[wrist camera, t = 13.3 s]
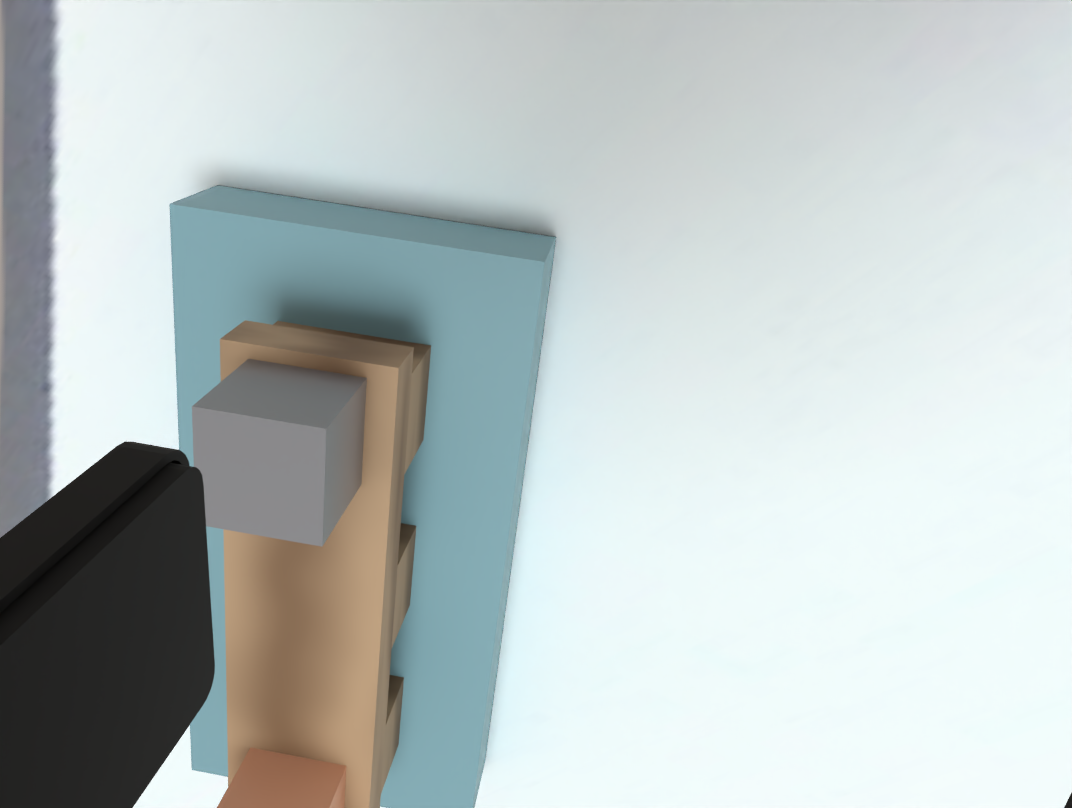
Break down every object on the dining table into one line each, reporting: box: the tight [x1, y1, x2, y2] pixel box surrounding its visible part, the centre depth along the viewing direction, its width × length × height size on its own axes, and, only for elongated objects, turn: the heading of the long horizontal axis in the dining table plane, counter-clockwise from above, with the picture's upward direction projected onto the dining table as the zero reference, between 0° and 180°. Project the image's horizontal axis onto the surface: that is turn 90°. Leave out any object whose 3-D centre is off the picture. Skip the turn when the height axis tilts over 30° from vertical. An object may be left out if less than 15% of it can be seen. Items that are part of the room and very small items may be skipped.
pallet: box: [220, 320, 431, 808], centre depth 36 cm, size 6×22×5 cm, turn 173°
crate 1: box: [192, 359, 367, 547], centre depth 29 cm, size 4×4×4 cm
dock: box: [170, 185, 556, 808], centre depth 40 cm, size 14×28×4 cm, turn 173°
